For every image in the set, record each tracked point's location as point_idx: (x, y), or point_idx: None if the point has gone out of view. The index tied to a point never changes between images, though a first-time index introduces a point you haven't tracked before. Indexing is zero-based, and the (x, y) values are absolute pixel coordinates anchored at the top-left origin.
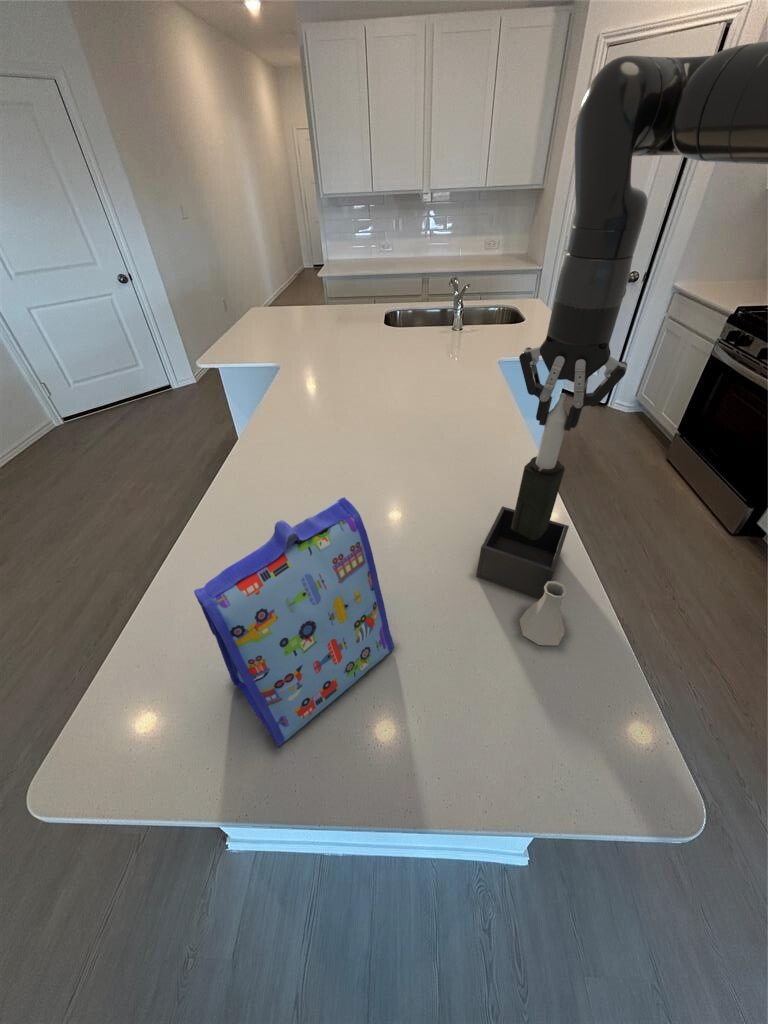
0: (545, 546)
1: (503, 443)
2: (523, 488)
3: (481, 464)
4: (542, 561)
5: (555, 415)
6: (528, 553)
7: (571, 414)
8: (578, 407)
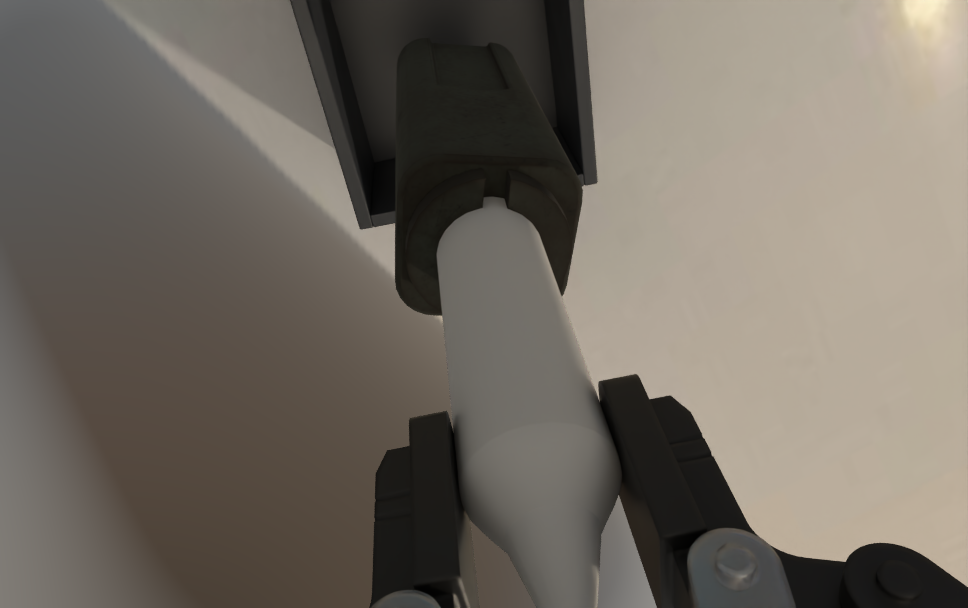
0: None
1: None
2: (532, 118)
3: (730, 379)
4: (390, 104)
5: (552, 469)
6: None
7: (430, 523)
8: (387, 602)
